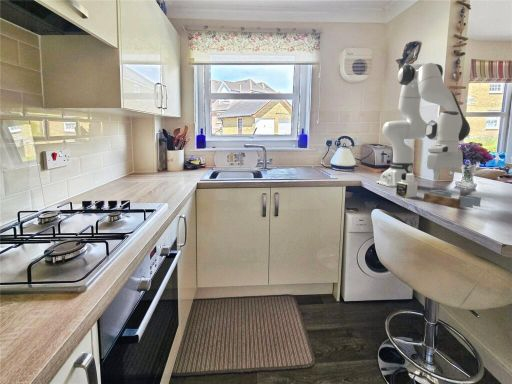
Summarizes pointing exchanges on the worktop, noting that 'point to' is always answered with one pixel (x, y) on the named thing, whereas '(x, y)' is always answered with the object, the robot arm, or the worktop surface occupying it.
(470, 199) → the cap open
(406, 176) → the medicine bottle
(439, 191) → the cap closed
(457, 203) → the slat
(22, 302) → the worktop surface
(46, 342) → the worktop surface
